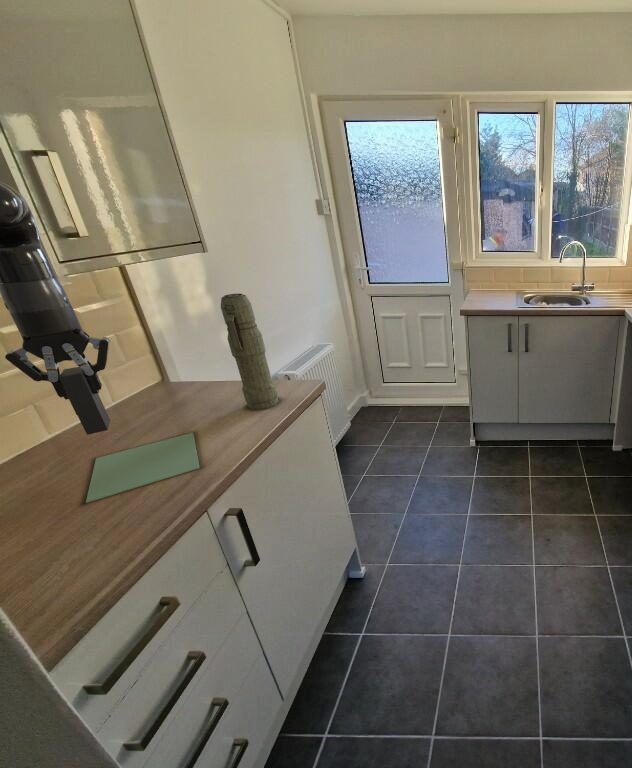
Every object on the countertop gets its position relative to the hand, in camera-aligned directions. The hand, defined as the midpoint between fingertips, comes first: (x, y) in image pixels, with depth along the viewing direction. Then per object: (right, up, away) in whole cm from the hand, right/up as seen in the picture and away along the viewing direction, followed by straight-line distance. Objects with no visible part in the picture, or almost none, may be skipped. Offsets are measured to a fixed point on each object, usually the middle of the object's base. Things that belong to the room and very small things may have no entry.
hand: (82, 394), depth 79 cm
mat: (-8, -18, +23) cm, 30 cm away
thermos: (+3, -5, +53) cm, 53 cm away
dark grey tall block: (0, -7, +3) cm, 7 cm away
